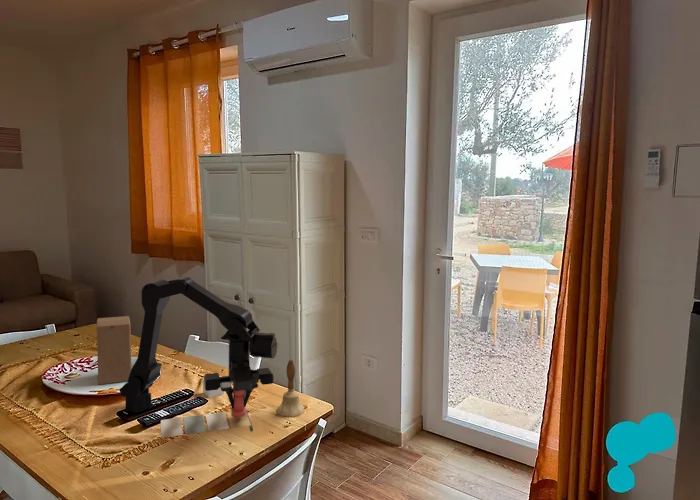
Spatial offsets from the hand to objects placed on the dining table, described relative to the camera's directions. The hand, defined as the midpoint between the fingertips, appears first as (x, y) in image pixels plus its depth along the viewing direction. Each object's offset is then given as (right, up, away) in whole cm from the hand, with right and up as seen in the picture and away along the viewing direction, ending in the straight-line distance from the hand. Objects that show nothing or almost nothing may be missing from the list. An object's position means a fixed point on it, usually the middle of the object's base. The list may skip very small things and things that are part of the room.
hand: (238, 407), depth 141 cm
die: (-12, -2, +16) cm, 20 cm away
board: (-9, -5, -3) cm, 10 cm away
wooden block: (-48, +1, +28) cm, 56 cm away
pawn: (0, -2, 0) cm, 2 cm away
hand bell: (+14, -4, +9) cm, 17 cm away
